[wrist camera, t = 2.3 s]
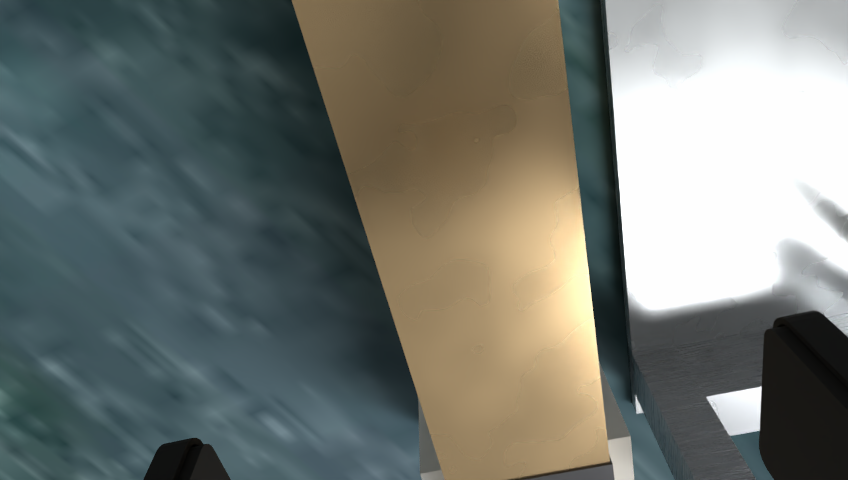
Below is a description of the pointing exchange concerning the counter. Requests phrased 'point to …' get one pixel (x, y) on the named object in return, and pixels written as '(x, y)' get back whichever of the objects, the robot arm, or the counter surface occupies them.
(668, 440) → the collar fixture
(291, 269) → the counter surface
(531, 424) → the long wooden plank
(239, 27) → the counter surface
